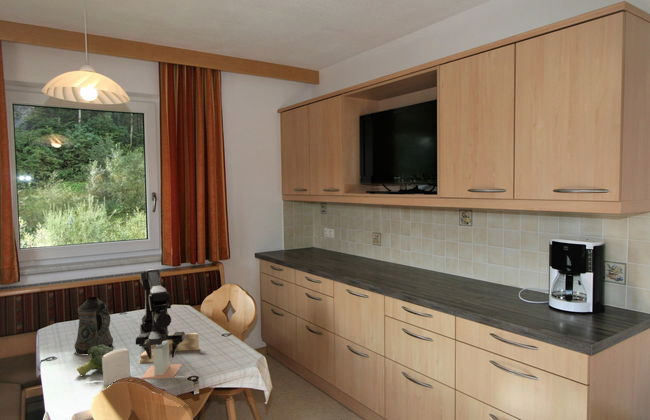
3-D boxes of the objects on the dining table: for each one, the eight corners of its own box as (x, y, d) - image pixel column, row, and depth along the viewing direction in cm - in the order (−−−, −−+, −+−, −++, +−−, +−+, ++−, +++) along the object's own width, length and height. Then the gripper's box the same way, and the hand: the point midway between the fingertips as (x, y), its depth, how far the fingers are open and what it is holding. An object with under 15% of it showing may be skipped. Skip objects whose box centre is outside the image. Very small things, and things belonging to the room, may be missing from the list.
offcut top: (140, 358, 192) (140, 355, 192) (146, 352, 199) (146, 349, 199) (155, 358, 192) (155, 354, 192) (161, 351, 199) (160, 348, 199)
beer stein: (88, 343, 220) (85, 293, 219) (125, 342, 219) (123, 293, 217) (66, 355, 203) (63, 302, 202) (107, 355, 202) (104, 302, 201)
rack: (140, 364, 190) (139, 346, 190) (151, 352, 205) (150, 335, 204) (191, 362, 192) (191, 344, 191) (198, 349, 206) (198, 333, 206)
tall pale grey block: (154, 375, 178) (153, 348, 177) (161, 366, 186) (160, 341, 186) (163, 374, 178) (162, 348, 177) (169, 365, 187) (168, 340, 186)
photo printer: (106, 386, 170) (104, 355, 169) (101, 383, 172) (99, 353, 172) (132, 377, 178) (130, 347, 177) (127, 374, 180) (125, 345, 180)
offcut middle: (139, 362, 191) (139, 359, 191) (145, 355, 199) (145, 352, 199) (156, 361, 192) (156, 358, 192) (161, 354, 200) (161, 351, 200)
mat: (141, 379, 176) (141, 377, 176) (151, 366, 188) (151, 365, 188) (174, 377, 177) (174, 375, 177) (182, 365, 189) (181, 363, 189)
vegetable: (78, 364, 187) (112, 343, 193) (90, 389, 183) (125, 366, 189) (66, 356, 177) (102, 334, 183) (79, 383, 172) (116, 359, 178)
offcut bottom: (138, 366, 191) (138, 363, 191) (145, 358, 200) (145, 355, 200) (157, 365, 191) (157, 362, 191) (163, 357, 200) (163, 354, 200)
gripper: (129, 328, 172) (131, 367, 173) (177, 326, 174) (179, 364, 174) (139, 320, 183) (141, 356, 184) (184, 318, 185) (186, 354, 186)
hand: (161, 358), depth 182 cm, fingers open, 9 cm apart
